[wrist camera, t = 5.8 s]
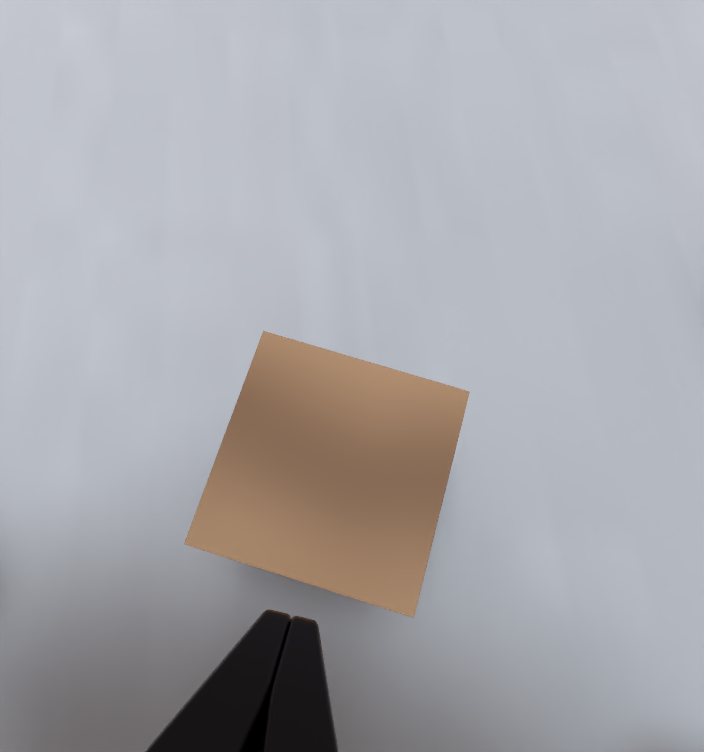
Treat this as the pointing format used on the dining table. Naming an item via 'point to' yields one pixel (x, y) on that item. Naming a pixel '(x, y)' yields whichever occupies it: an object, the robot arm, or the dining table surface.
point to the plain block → (332, 473)
